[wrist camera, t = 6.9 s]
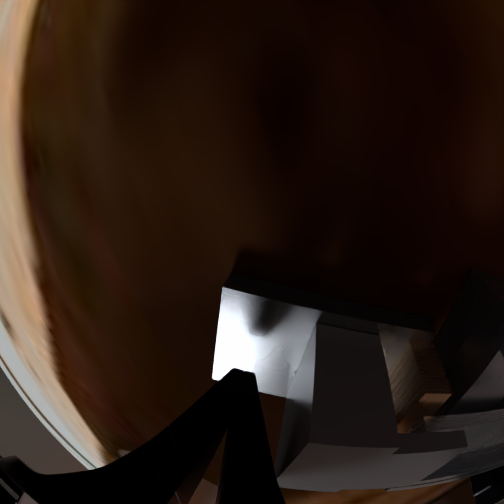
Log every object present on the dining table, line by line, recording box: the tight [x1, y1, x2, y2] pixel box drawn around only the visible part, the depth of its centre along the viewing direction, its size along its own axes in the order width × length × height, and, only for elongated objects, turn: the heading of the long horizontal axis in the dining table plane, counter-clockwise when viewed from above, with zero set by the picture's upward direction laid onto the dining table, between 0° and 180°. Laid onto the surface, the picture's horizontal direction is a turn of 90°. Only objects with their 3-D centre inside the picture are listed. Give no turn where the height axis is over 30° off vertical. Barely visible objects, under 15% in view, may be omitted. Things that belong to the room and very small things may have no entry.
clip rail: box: [212, 273, 435, 397], centre depth 10 cm, size 8×5×1 cm, turn 81°
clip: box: [274, 323, 468, 492], centre depth 7 cm, size 5×4×4 cm
